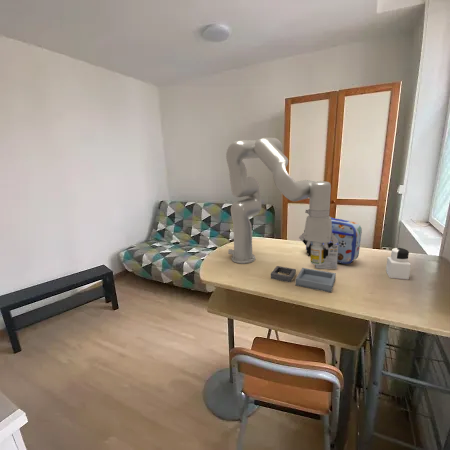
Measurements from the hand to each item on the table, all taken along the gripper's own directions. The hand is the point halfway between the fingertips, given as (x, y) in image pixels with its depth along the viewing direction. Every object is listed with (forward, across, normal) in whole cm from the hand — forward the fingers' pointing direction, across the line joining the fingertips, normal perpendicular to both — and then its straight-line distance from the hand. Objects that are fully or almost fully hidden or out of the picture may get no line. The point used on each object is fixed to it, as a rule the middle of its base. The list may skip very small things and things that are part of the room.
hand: (317, 255), depth 107 cm
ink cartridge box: (+12, +1, +18) cm, 22 cm away
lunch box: (+12, +1, +30) cm, 33 cm away
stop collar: (+12, -14, 0) cm, 19 cm away
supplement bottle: (+3, 0, 0) cm, 3 cm away
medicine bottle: (+12, +30, +21) cm, 39 cm away
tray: (+12, 0, 0) cm, 12 cm away
